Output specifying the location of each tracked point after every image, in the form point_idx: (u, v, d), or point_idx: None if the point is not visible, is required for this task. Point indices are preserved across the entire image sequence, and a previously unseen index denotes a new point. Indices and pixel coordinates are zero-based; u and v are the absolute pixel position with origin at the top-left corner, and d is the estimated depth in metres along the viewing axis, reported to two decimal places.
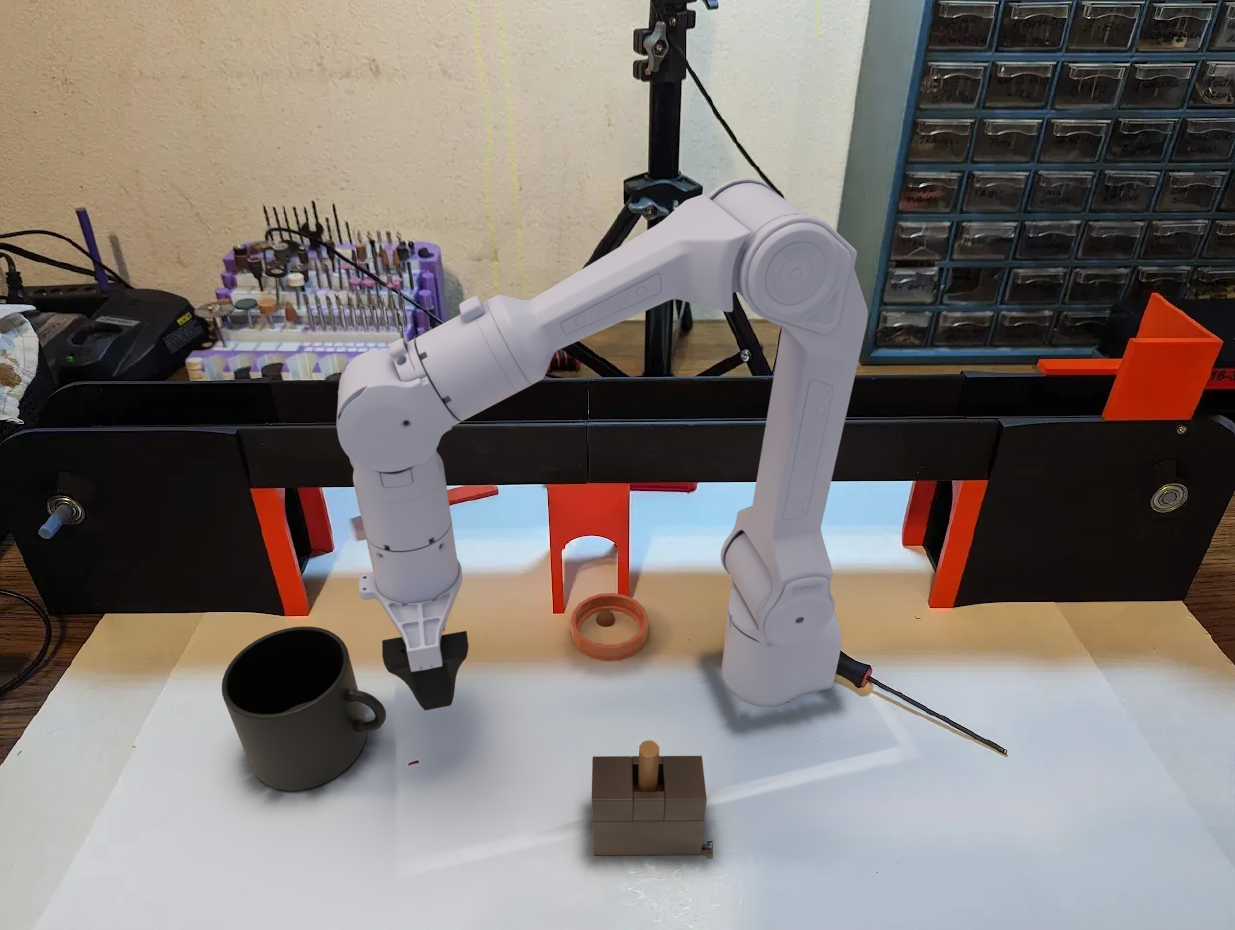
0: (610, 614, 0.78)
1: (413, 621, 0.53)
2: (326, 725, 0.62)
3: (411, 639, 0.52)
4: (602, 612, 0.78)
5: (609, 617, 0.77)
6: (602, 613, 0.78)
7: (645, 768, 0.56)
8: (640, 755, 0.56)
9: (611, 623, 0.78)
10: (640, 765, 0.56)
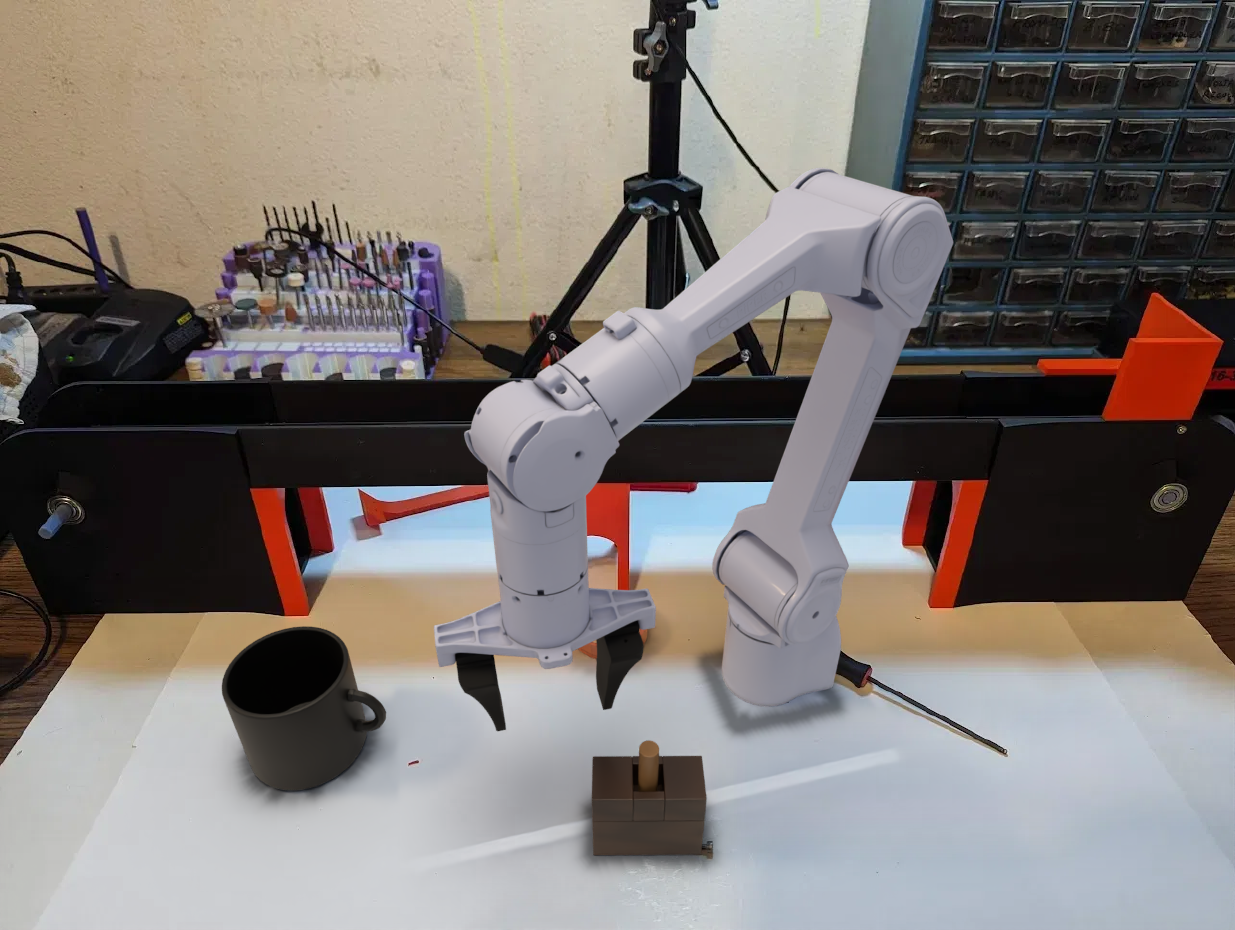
0: None
1: (616, 608, 0.54)
2: (326, 725, 0.62)
3: None
4: None
5: None
6: None
7: (645, 768, 0.56)
8: (640, 755, 0.56)
9: None
10: (640, 765, 0.56)
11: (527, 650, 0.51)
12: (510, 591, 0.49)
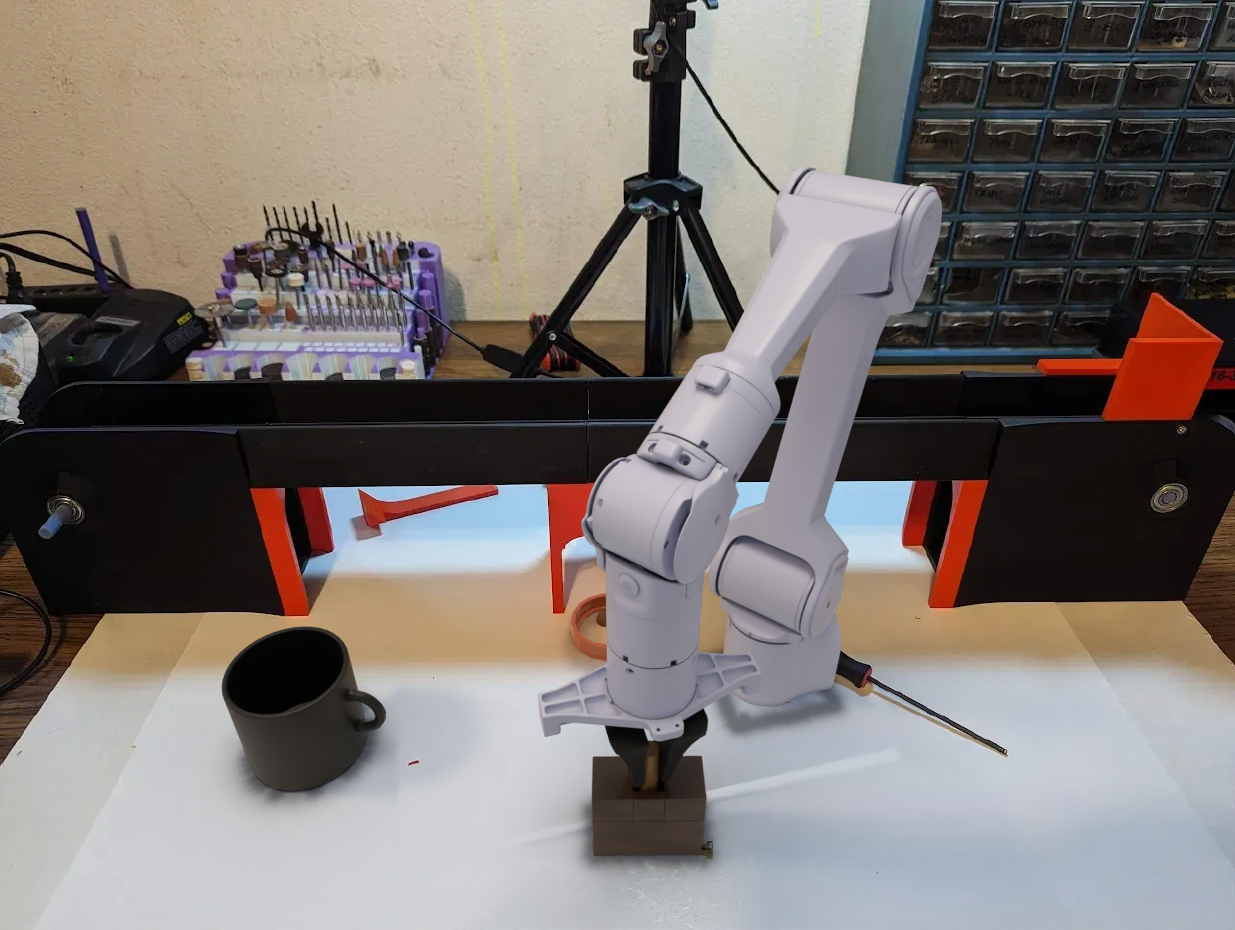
0: None
1: (721, 674, 0.53)
2: (326, 725, 0.62)
3: None
4: (602, 612, 0.78)
5: None
6: (602, 613, 0.78)
7: (645, 768, 0.56)
8: None
9: None
10: None
11: (637, 721, 0.50)
12: (624, 663, 0.48)
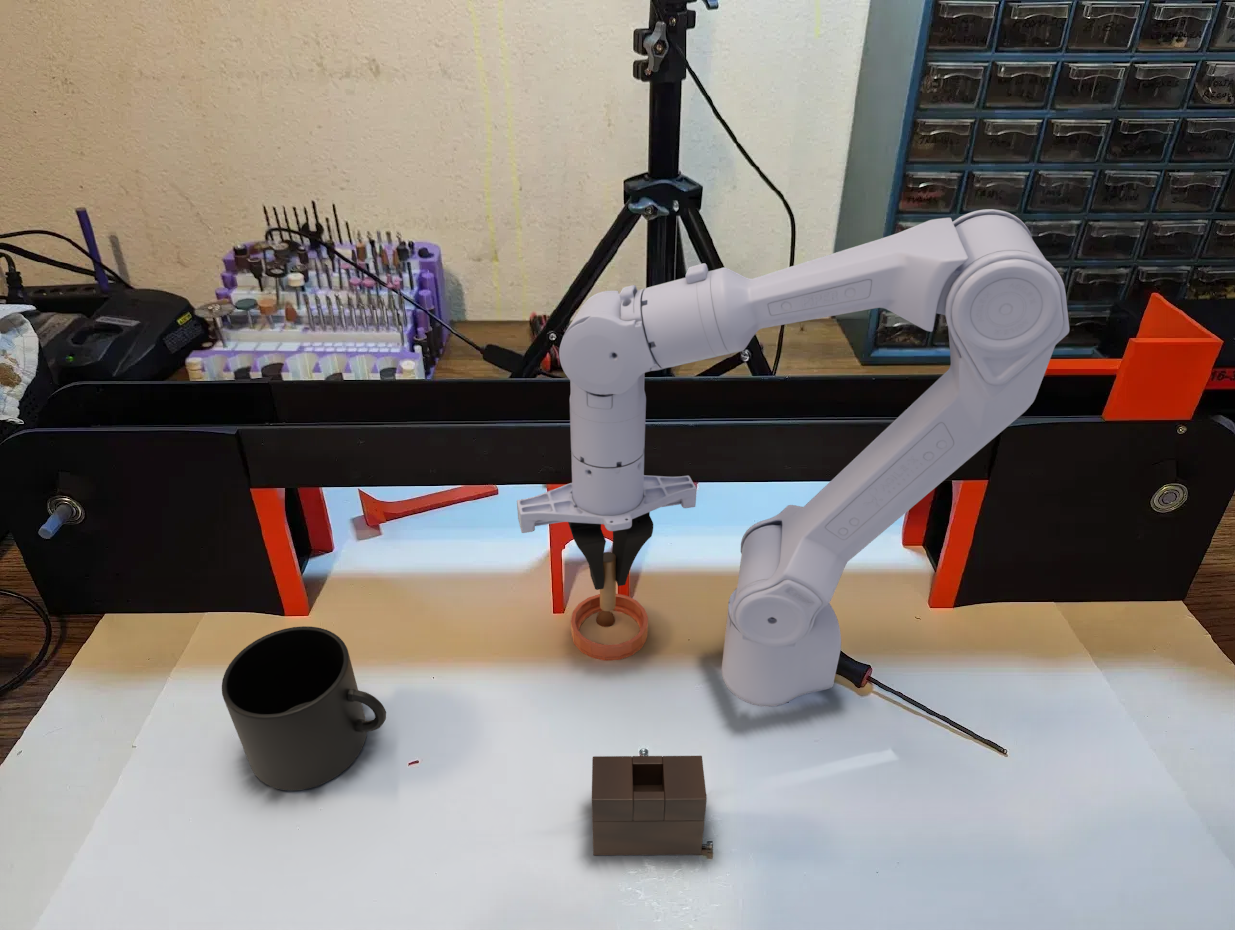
0: (610, 614, 0.78)
1: (664, 489, 0.66)
2: (326, 725, 0.62)
3: None
4: (602, 612, 0.78)
5: (609, 617, 0.77)
6: (602, 613, 0.78)
7: (605, 573, 0.69)
8: None
9: (611, 623, 0.78)
10: None
11: (595, 517, 0.63)
12: (583, 465, 0.61)
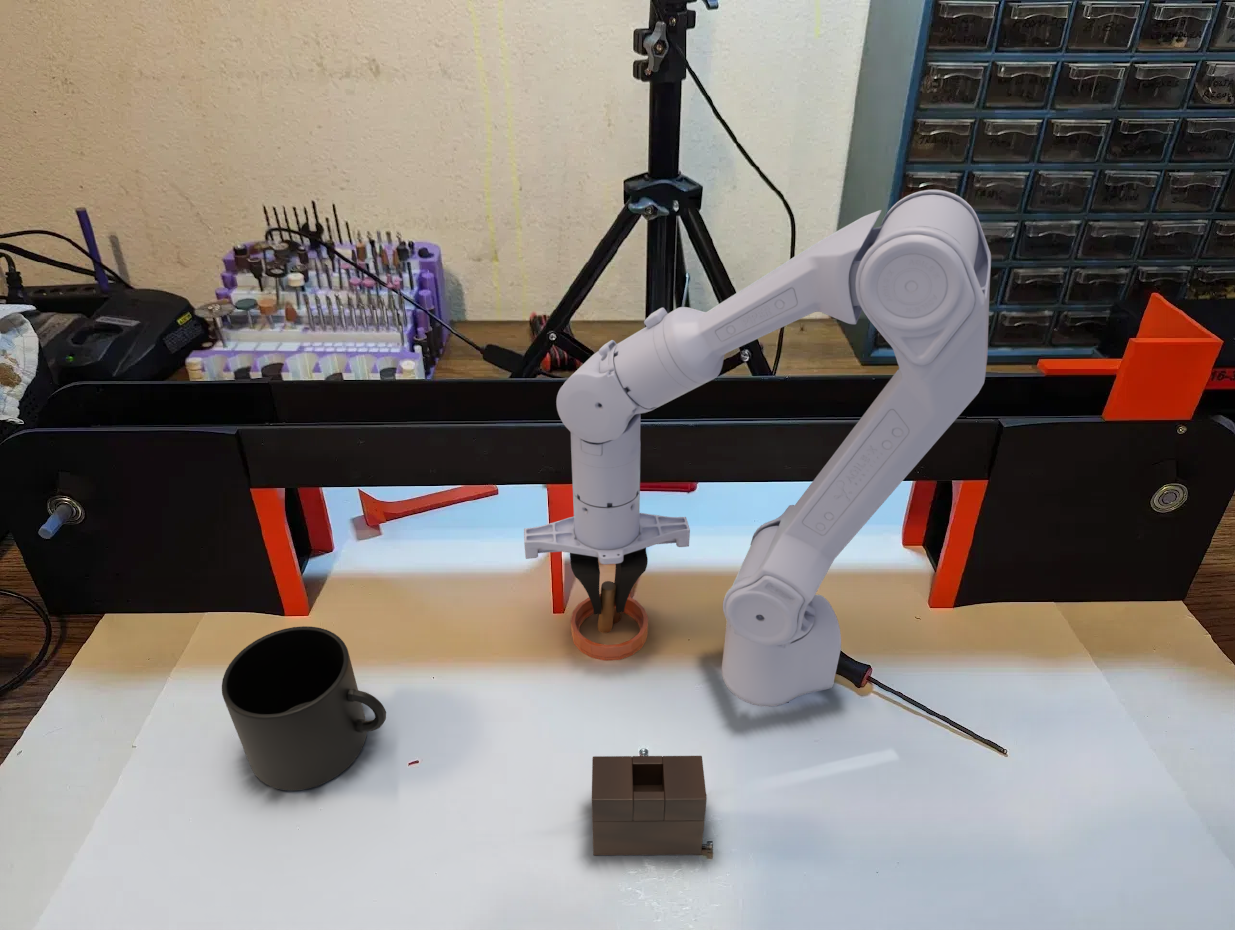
0: None
1: (659, 528, 0.71)
2: (326, 725, 0.62)
3: None
4: None
5: None
6: None
7: (603, 600, 0.75)
8: (601, 589, 0.75)
9: (619, 618, 0.78)
10: (600, 598, 0.75)
11: (590, 550, 0.69)
12: (581, 503, 0.67)
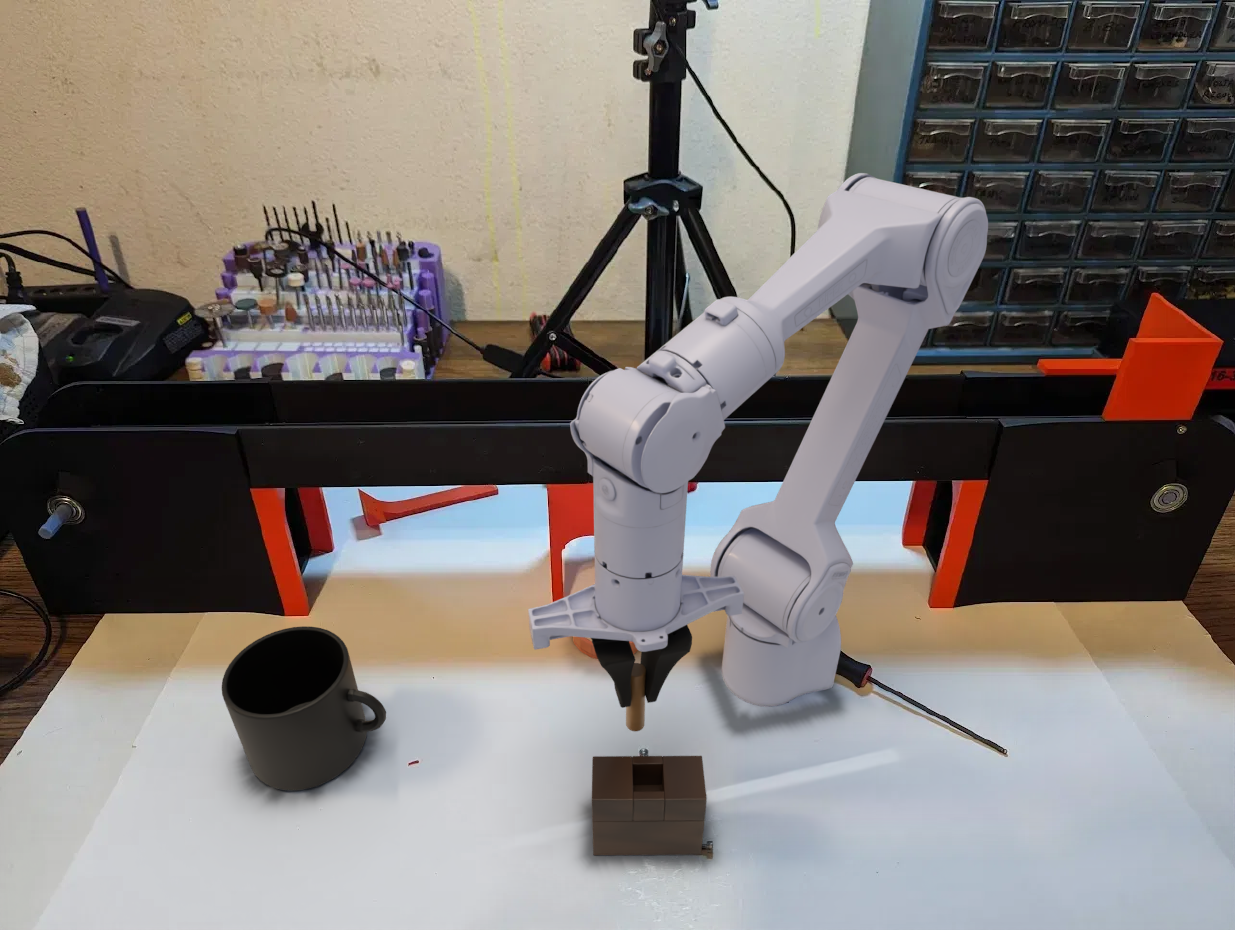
0: None
1: (705, 594, 0.55)
2: (326, 725, 0.62)
3: None
4: None
5: None
6: None
7: (631, 689, 0.58)
8: None
9: None
10: None
11: (623, 633, 0.52)
12: (610, 574, 0.50)
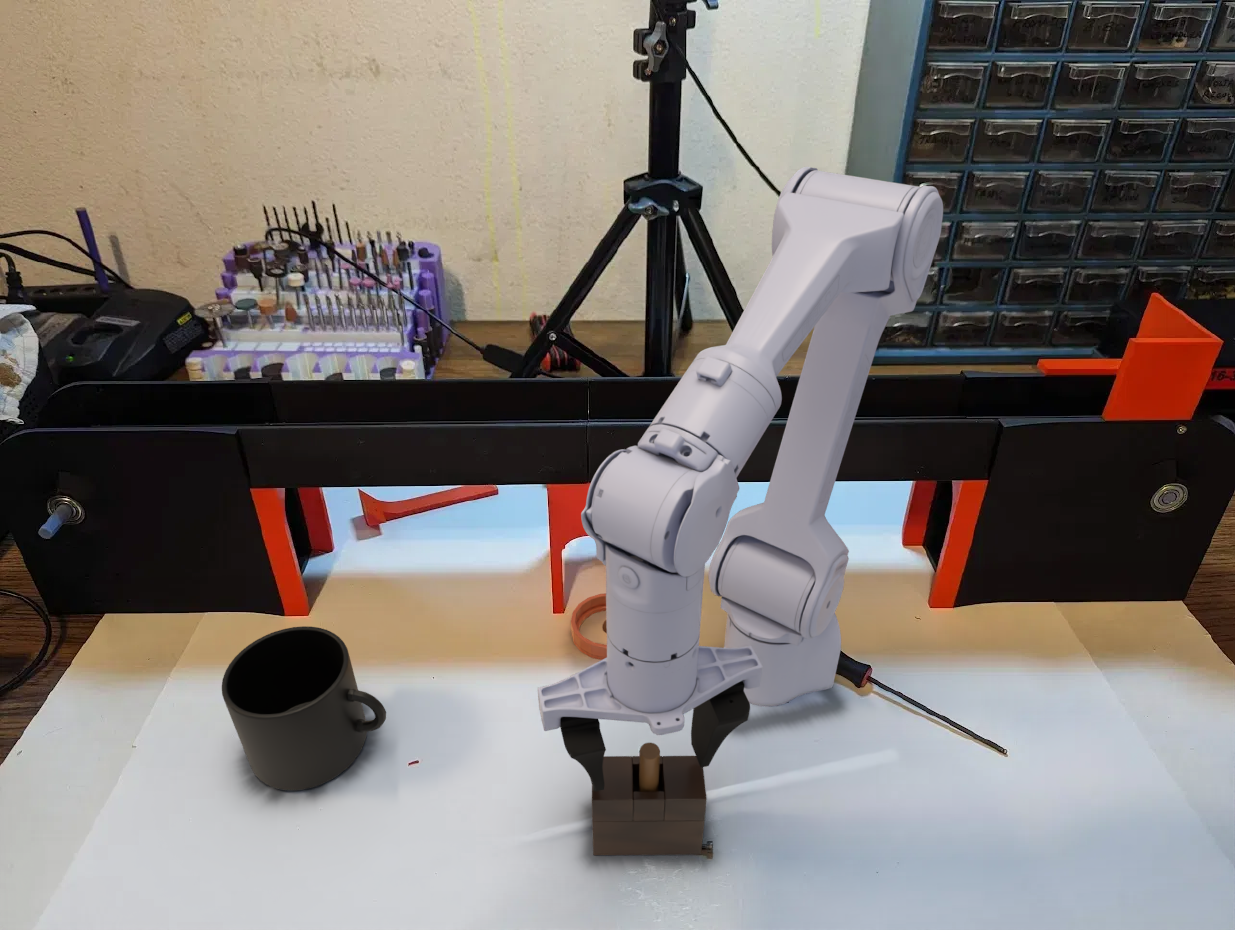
0: None
1: (722, 668, 0.52)
2: (326, 725, 0.62)
3: None
4: (606, 629, 0.77)
5: None
6: None
7: (645, 770, 0.56)
8: (640, 756, 0.56)
9: None
10: (640, 767, 0.56)
11: (637, 715, 0.49)
12: (624, 657, 0.48)
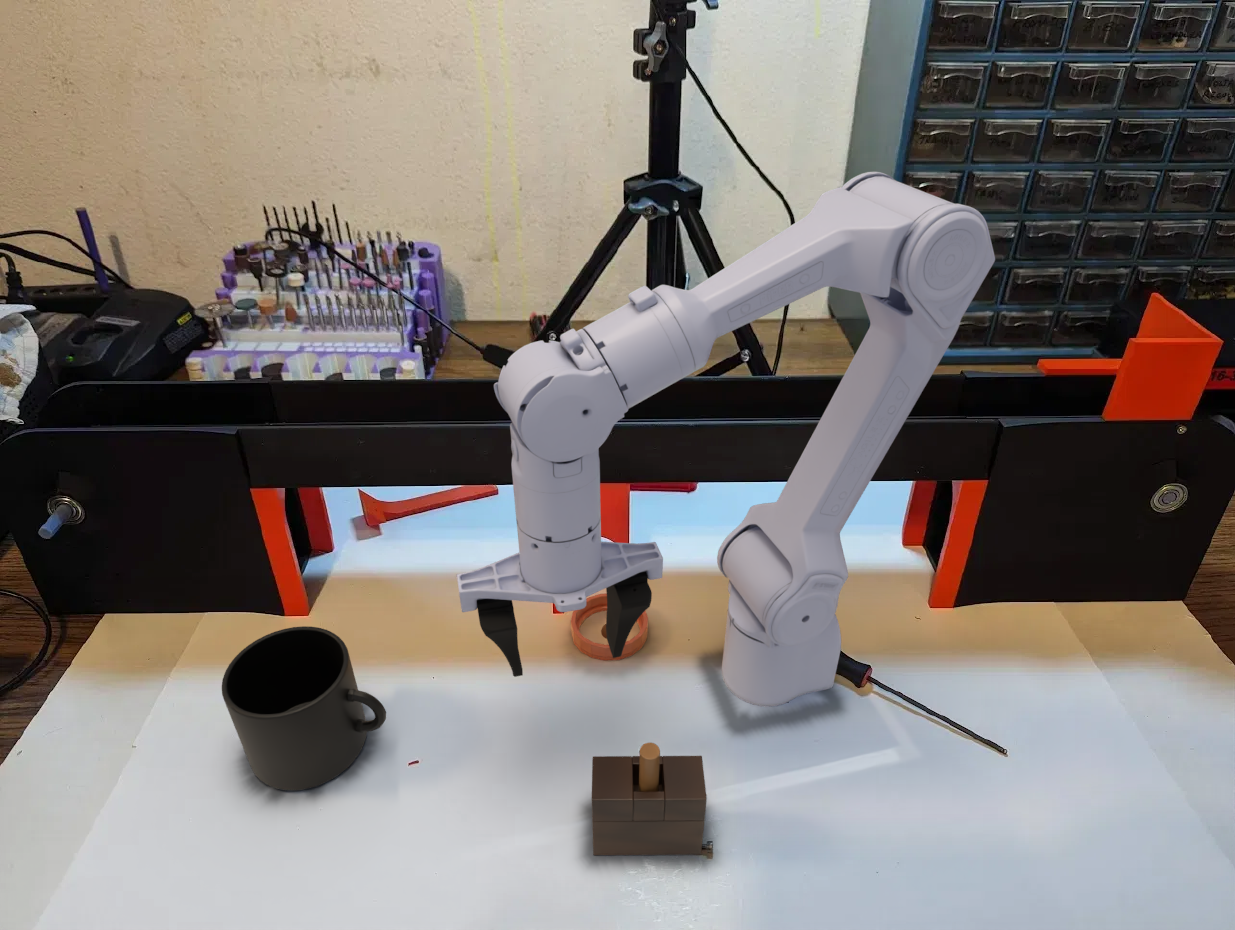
0: None
1: (626, 559, 0.58)
2: (326, 725, 0.62)
3: None
4: None
5: None
6: None
7: (645, 770, 0.56)
8: (640, 756, 0.56)
9: None
10: (640, 767, 0.56)
11: (544, 595, 0.55)
12: (529, 539, 0.53)
